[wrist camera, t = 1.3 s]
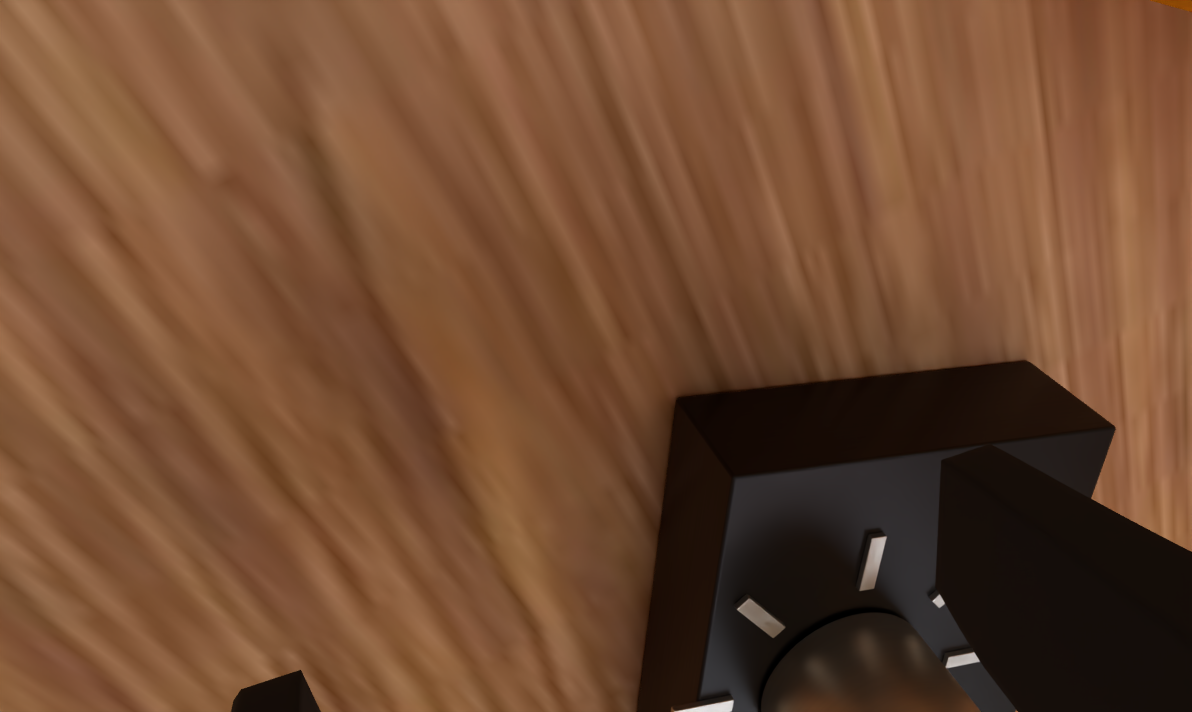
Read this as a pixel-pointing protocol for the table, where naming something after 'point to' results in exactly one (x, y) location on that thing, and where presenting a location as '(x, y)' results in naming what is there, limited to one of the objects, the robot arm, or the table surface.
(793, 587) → the hob panel
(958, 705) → the knob
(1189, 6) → the orange juice
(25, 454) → the table surface
